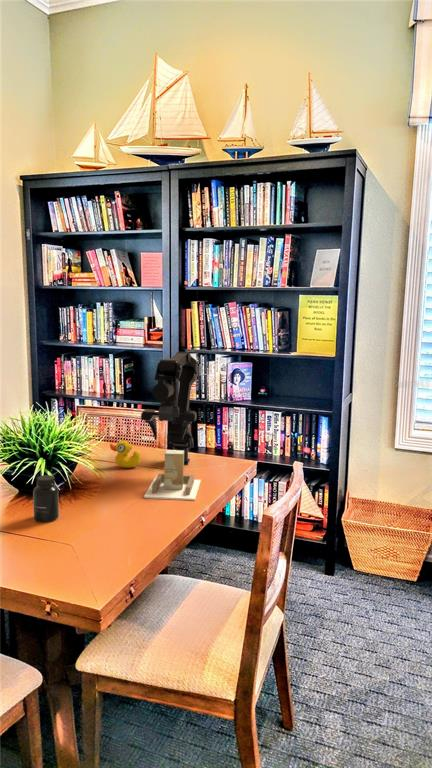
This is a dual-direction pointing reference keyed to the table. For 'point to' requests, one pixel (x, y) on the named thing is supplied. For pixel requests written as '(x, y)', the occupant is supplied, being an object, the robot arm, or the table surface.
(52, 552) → the table surface
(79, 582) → the table surface
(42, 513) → the supplement bottle
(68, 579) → the table surface
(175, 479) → the skincare box
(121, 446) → the duckling
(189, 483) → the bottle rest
